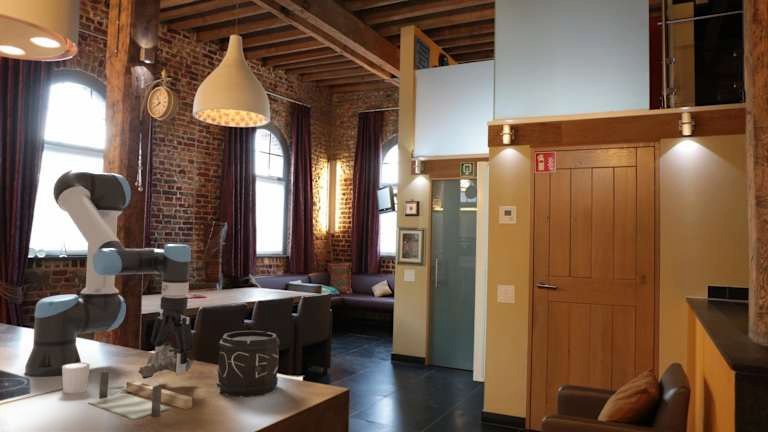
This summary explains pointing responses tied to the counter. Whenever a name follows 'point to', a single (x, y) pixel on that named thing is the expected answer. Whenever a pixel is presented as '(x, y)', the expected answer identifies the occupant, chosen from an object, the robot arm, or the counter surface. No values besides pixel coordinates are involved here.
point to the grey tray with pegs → (138, 399)
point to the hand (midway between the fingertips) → (169, 371)
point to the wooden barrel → (248, 363)
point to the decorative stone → (163, 361)
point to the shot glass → (75, 377)
